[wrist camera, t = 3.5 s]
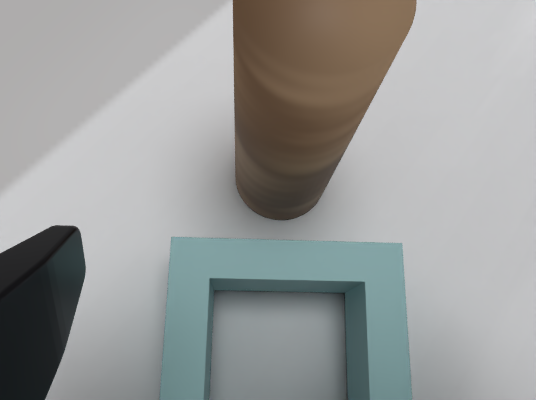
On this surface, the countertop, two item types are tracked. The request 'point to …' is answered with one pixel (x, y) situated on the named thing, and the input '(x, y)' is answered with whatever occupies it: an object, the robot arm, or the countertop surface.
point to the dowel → (305, 91)
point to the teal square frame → (289, 280)
